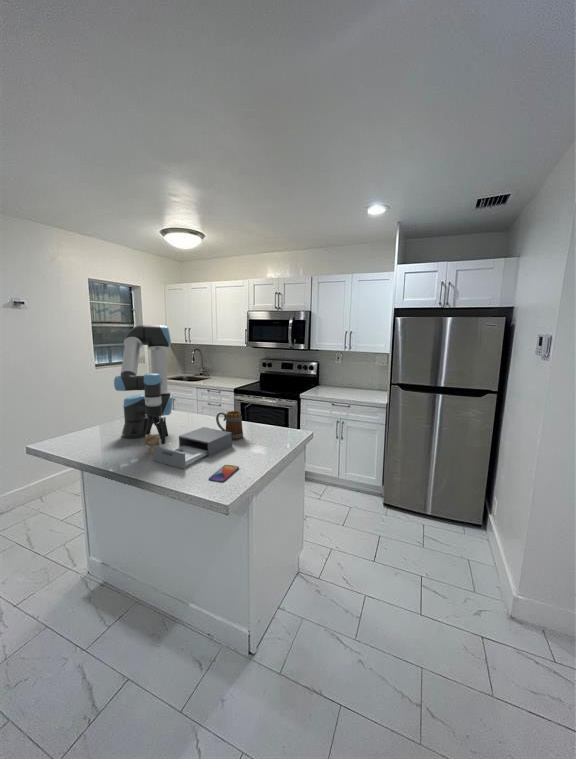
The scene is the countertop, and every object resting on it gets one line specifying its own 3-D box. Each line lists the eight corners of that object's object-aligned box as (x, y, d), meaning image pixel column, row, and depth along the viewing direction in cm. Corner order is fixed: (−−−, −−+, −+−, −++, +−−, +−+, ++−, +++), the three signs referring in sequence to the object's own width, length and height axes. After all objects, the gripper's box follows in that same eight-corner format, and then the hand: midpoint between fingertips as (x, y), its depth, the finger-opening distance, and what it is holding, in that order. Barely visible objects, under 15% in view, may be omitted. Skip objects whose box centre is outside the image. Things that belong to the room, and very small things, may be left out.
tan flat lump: (141, 443, 158) (141, 438, 158) (156, 438, 166) (156, 433, 166) (154, 446, 154) (153, 441, 154) (168, 441, 162) (168, 435, 161)
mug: (245, 435, 189) (244, 410, 187) (240, 440, 179) (240, 415, 177) (219, 434, 191) (219, 409, 189) (213, 439, 181) (213, 414, 178)
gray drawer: (183, 469, 140) (182, 454, 139) (152, 460, 149) (151, 446, 148) (209, 456, 156) (209, 442, 155) (180, 449, 164) (180, 436, 163)
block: (148, 452, 160) (147, 443, 159) (156, 449, 164) (155, 440, 163) (155, 454, 157) (154, 445, 157) (163, 451, 162) (162, 442, 161)
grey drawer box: (209, 457, 155) (208, 442, 154) (179, 449, 164) (178, 435, 163) (232, 446, 171) (231, 432, 170) (203, 439, 180) (203, 427, 179)
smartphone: (207, 481, 131) (207, 479, 131) (225, 466, 145) (225, 464, 145) (223, 484, 129) (223, 481, 129) (239, 468, 143) (239, 466, 143)
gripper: (132, 403, 159) (134, 447, 162) (162, 408, 149) (164, 454, 152) (145, 401, 165) (147, 442, 169) (175, 405, 156) (176, 449, 159)
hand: (155, 448), depth 160 cm, fingers closed on tan flat lump, 9 cm apart
